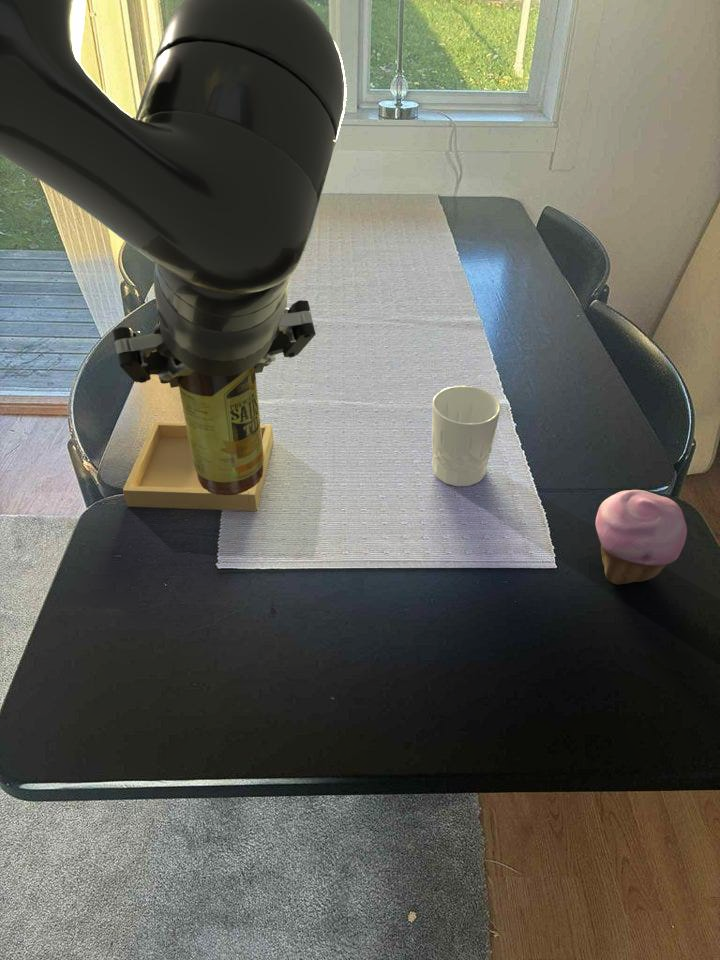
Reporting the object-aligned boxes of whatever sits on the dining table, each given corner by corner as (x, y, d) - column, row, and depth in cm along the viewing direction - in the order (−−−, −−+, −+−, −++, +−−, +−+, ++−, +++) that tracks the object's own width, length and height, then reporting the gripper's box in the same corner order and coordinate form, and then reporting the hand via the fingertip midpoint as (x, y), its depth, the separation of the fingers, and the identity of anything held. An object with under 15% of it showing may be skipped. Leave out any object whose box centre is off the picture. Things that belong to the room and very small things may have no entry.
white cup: (430, 447, 92) (436, 382, 85) (491, 453, 91) (501, 388, 84) (424, 486, 86) (429, 420, 79) (489, 493, 85) (499, 427, 78)
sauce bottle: (255, 503, 61) (226, 289, 48) (186, 495, 62) (140, 283, 49) (274, 456, 66) (253, 251, 53) (210, 449, 66) (174, 245, 53)
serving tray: (127, 506, 83) (122, 490, 81) (157, 436, 93) (153, 421, 92) (257, 511, 83) (254, 495, 81) (273, 440, 93) (272, 424, 91)
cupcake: (577, 539, 79) (596, 471, 72) (655, 542, 79) (682, 475, 72) (591, 601, 72) (615, 533, 66) (677, 605, 72) (709, 537, 65)
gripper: (322, 224, 44) (288, 312, 60) (82, 253, 40) (115, 338, 57) (349, 339, 43) (307, 396, 60) (109, 379, 40) (134, 428, 56)
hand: (213, 368), depth 58 cm, fingers closed on sauce bottle, 6 cm apart
